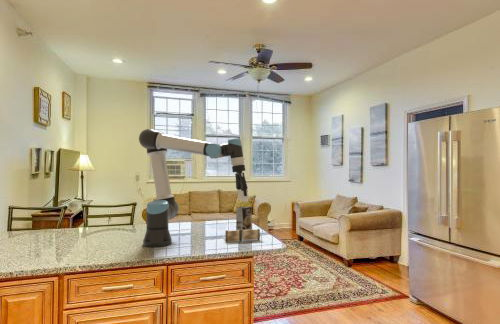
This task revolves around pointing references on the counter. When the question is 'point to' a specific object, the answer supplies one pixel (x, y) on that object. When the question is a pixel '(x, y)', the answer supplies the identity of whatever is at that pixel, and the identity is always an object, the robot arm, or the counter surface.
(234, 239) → the fence fixed section
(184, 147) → the robot arm
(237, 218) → the coffee box
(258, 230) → the fence gate
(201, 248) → the counter surface
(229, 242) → the card
